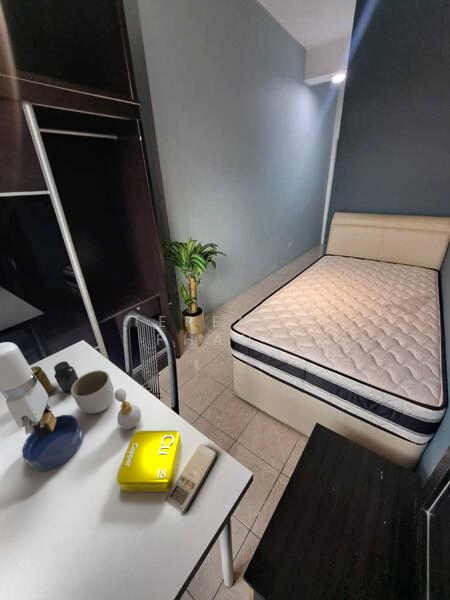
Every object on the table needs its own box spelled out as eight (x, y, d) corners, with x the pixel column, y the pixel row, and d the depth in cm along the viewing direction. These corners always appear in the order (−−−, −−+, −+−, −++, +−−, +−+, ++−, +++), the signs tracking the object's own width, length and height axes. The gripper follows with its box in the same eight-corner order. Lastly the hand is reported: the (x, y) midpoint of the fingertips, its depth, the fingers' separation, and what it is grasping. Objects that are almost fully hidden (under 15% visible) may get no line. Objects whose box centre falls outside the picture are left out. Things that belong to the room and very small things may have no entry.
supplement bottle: (58, 391, 99) (46, 369, 93) (72, 379, 105) (62, 357, 99) (70, 395, 97) (59, 373, 91) (84, 383, 103) (74, 361, 97)
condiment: (34, 391, 100) (21, 369, 94) (58, 381, 104) (47, 359, 98) (35, 403, 95) (21, 380, 89) (60, 391, 99) (48, 369, 93)
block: (38, 435, 73) (32, 427, 71) (42, 423, 76) (36, 415, 74) (53, 431, 74) (47, 422, 72) (56, 419, 77) (51, 411, 75)
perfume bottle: (130, 437, 80) (121, 412, 75) (111, 424, 85) (101, 400, 79) (147, 418, 86) (139, 395, 80) (128, 407, 91) (119, 384, 85)
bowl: (21, 479, 71) (13, 470, 68) (38, 432, 84) (32, 423, 81) (79, 460, 75) (73, 451, 72) (87, 418, 87) (82, 409, 85)
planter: (123, 397, 95) (116, 376, 90) (96, 423, 85) (86, 402, 80) (102, 386, 100) (94, 366, 95) (73, 410, 91) (62, 389, 86)
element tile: (137, 438, 80) (133, 429, 78) (182, 438, 79) (180, 429, 77) (118, 492, 67) (113, 483, 64) (172, 492, 66) (169, 483, 64)
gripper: (15, 367, 72) (42, 408, 81) (-13, 415, 58) (22, 458, 67) (44, 360, 74) (67, 401, 83) (23, 405, 60) (53, 449, 69)
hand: (47, 426), depth 75 cm, fingers closed on block, 4 cm apart
